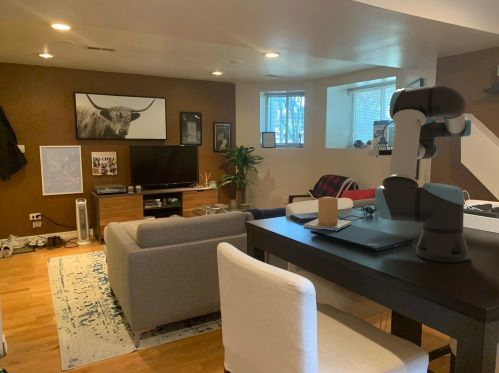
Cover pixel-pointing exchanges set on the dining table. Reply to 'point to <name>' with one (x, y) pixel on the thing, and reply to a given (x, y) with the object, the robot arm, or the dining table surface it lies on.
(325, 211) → the wooden block
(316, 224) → the plate
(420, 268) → the dining table surface
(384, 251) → the dining table surface
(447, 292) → the dining table surface
